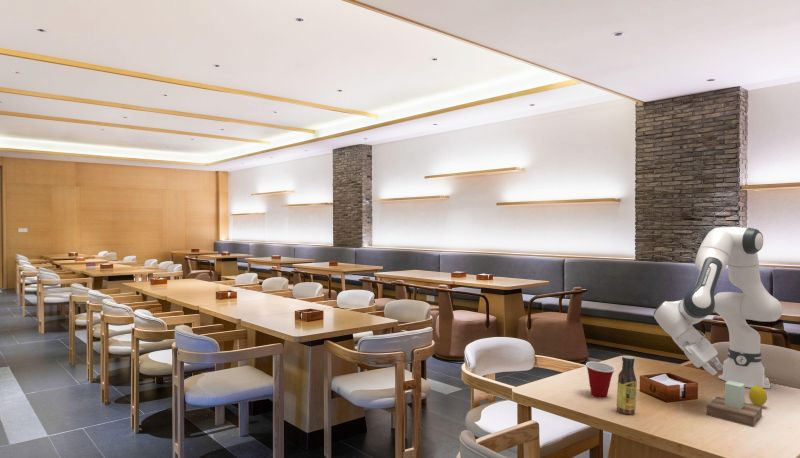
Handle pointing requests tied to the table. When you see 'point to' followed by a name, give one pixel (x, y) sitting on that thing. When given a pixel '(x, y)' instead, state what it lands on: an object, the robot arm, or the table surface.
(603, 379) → the plastic cup
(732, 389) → the sage block
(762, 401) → the lemon
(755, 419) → the walnut slab
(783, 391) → the table surface
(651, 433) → the table surface
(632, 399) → the sauce bottle
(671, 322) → the robot arm
